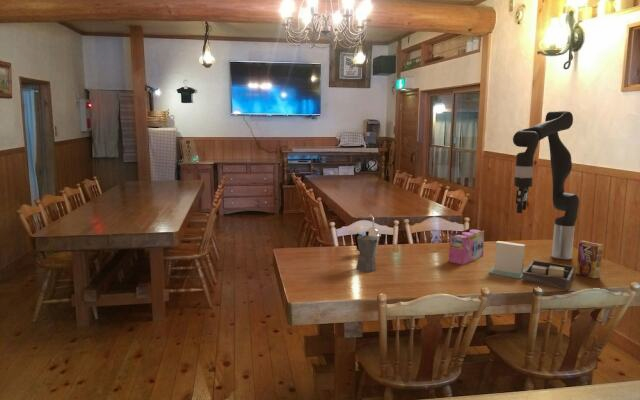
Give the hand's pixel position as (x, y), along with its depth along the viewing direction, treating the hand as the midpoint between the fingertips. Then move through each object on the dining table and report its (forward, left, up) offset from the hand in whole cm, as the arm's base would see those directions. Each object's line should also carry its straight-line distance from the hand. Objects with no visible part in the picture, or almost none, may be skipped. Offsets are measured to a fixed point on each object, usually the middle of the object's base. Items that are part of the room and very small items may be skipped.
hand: (521, 211), depth 221 cm
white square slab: (+4, -3, -28) cm, 28 cm away
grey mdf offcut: (+8, +11, -28) cm, 31 cm away
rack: (+4, +14, -28) cm, 32 cm away
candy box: (-12, +28, -29) cm, 42 cm away
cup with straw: (+12, -69, -29) cm, 76 cm away
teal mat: (+4, -3, -28) cm, 29 cm away
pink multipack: (-7, -26, -29) cm, 39 cm away
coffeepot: (+37, -60, -29) cm, 76 cm away
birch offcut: (+8, +17, -28) cm, 34 cm away
